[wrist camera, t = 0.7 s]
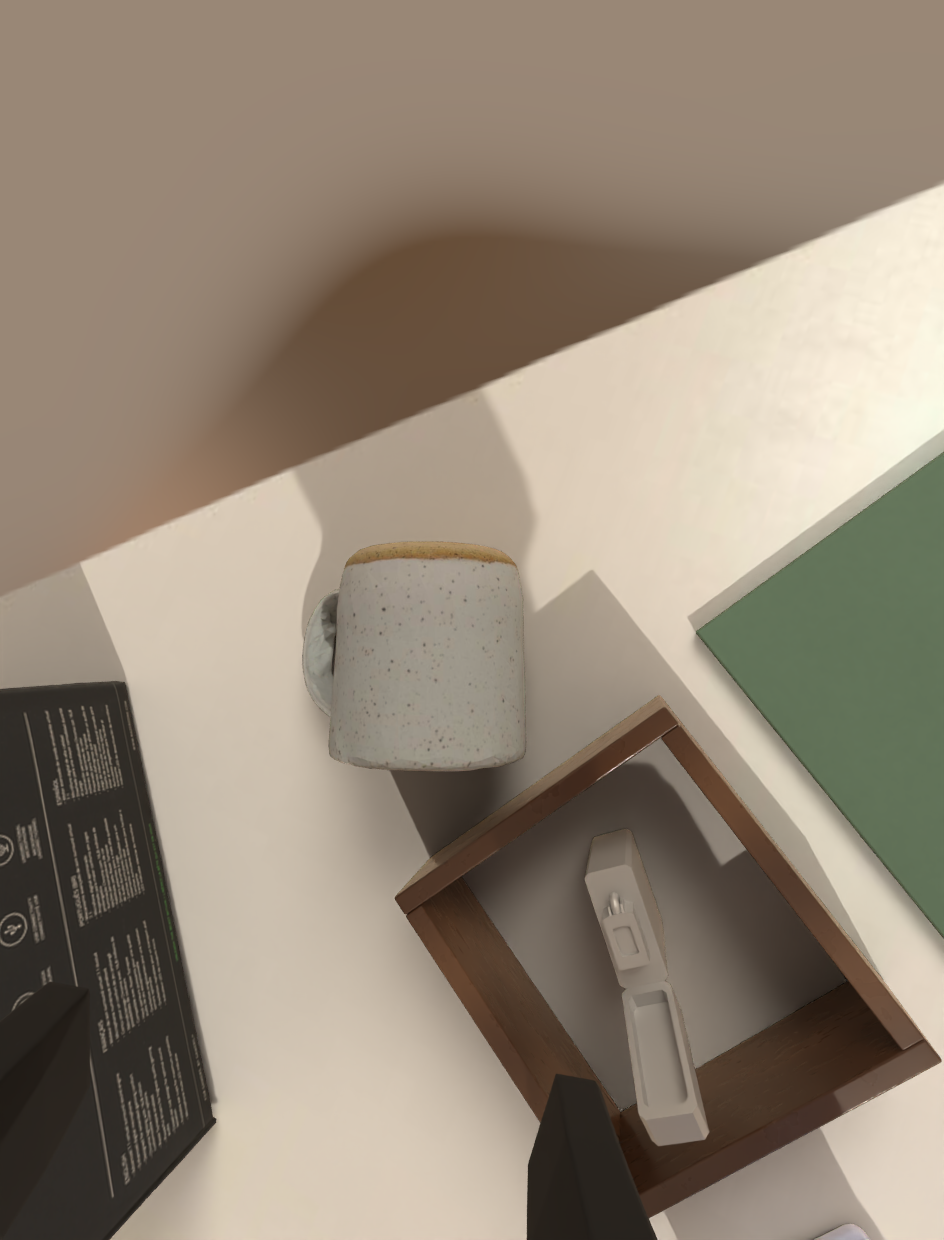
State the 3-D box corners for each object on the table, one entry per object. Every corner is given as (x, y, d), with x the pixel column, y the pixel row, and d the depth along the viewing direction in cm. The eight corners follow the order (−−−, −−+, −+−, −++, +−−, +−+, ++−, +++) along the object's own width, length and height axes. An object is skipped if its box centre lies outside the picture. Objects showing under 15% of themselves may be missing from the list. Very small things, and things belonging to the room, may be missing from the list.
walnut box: (886, 984, 24) (943, 1062, 20) (617, 1138, 26) (614, 1238, 22) (659, 694, 26) (665, 705, 22) (429, 858, 29) (392, 898, 24)
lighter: (590, 837, 27) (573, 920, 19) (630, 827, 26) (629, 907, 19) (646, 1006, 26) (653, 1162, 18) (688, 997, 26) (713, 1154, 18)
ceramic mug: (535, 557, 28) (496, 528, 20) (540, 745, 27) (502, 786, 20) (317, 569, 30) (212, 548, 23) (320, 741, 30) (214, 774, 23)
